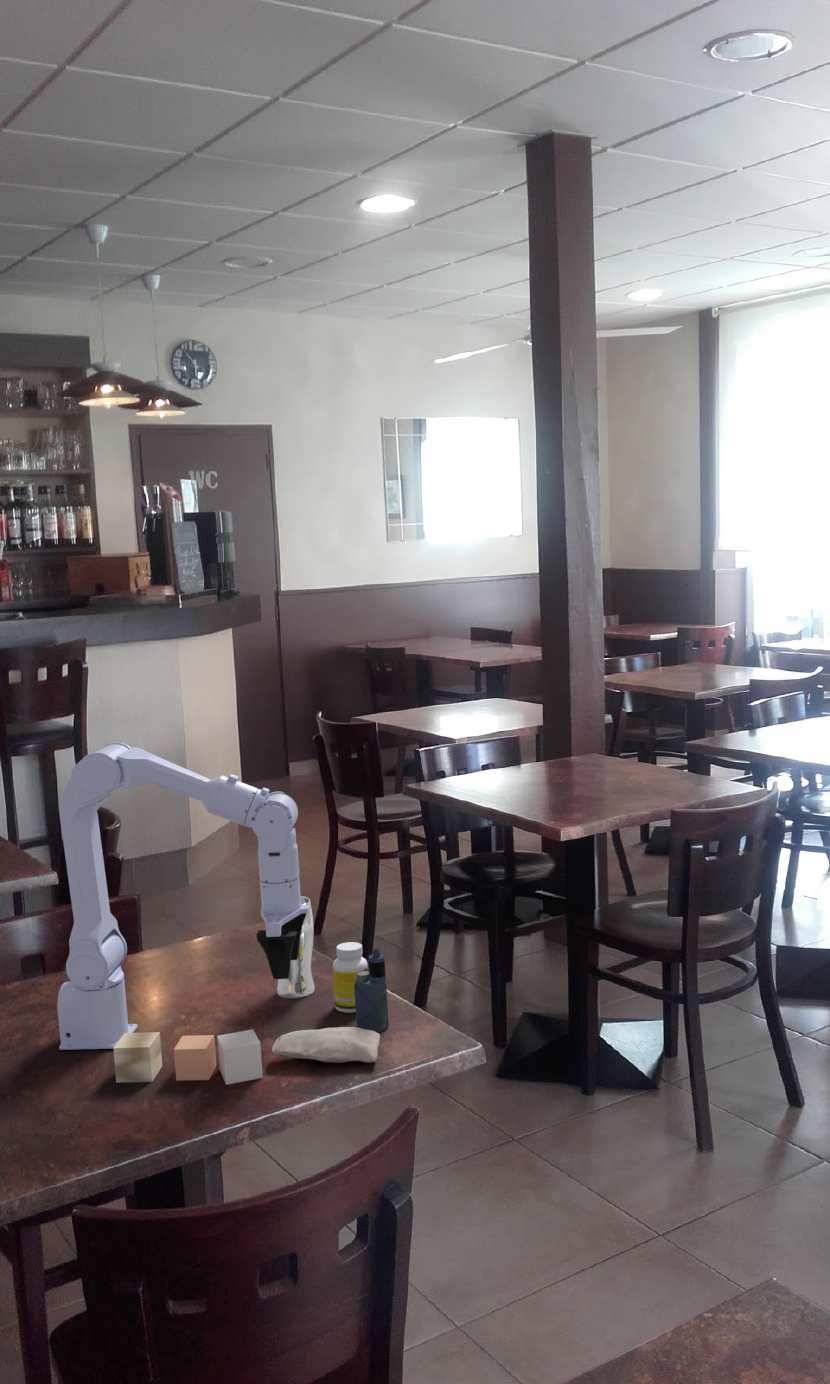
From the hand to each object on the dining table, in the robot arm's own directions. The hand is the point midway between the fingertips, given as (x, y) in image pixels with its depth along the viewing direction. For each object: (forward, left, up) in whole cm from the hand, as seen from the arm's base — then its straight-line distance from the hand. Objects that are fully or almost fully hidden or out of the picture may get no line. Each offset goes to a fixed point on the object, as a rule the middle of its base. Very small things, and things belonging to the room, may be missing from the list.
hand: (285, 968), depth 173 cm
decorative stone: (+7, -8, -11) cm, 15 cm away
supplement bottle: (+8, +10, -10) cm, 16 cm away
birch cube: (-19, -12, -10) cm, 25 cm away
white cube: (-5, -12, -10) cm, 17 cm away
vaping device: (+12, +2, -10) cm, 16 cm away
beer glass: (-2, +17, -10) cm, 20 cm away
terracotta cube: (-11, -12, -10) cm, 19 cm away
